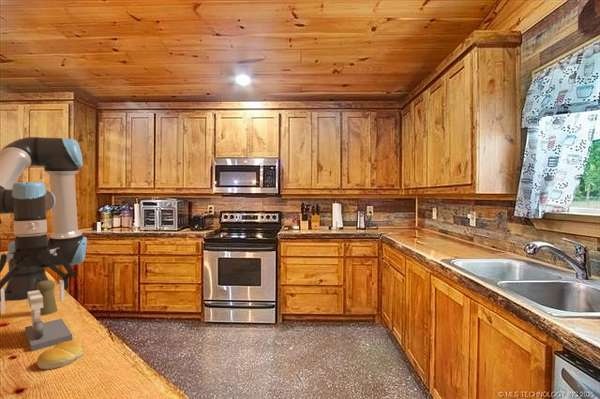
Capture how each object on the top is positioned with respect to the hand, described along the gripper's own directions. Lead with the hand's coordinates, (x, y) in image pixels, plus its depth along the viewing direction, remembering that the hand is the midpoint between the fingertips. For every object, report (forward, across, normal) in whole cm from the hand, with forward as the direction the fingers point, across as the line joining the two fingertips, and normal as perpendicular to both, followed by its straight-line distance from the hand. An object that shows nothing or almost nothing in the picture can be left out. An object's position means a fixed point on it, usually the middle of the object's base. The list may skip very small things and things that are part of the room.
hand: (34, 306), depth 97 cm
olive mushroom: (+9, +5, +20) cm, 22 cm away
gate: (+6, 0, -4) cm, 8 cm away
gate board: (+8, +2, -5) cm, 10 cm away
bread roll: (+9, +3, -24) cm, 26 cm away
